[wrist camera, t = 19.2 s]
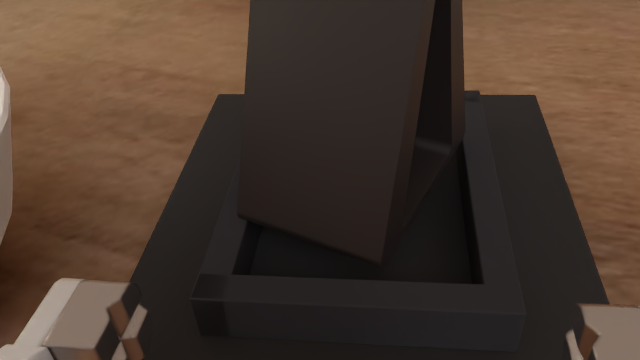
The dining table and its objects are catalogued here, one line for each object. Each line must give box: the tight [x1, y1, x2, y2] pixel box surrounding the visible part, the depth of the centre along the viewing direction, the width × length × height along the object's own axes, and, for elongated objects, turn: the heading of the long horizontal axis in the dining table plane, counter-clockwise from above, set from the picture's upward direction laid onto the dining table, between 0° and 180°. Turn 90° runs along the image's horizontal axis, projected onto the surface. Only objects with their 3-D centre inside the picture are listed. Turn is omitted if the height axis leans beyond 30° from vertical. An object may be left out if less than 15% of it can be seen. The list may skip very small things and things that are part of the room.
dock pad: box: [130, 91, 609, 360], centre depth 25 cm, size 18×20×3 cm
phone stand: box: [237, 0, 465, 268], centre depth 20 cm, size 9×6×12 cm, turn 151°
